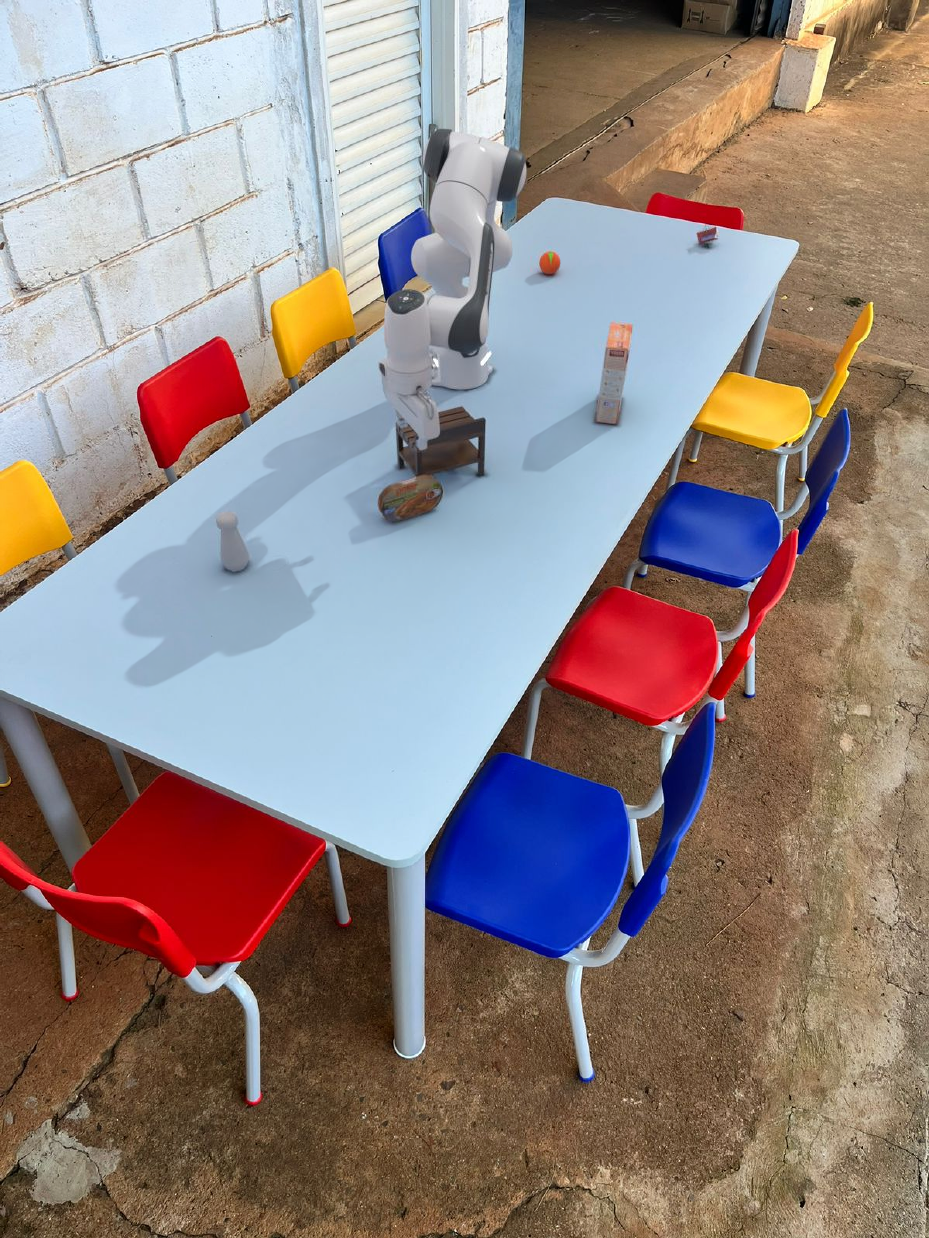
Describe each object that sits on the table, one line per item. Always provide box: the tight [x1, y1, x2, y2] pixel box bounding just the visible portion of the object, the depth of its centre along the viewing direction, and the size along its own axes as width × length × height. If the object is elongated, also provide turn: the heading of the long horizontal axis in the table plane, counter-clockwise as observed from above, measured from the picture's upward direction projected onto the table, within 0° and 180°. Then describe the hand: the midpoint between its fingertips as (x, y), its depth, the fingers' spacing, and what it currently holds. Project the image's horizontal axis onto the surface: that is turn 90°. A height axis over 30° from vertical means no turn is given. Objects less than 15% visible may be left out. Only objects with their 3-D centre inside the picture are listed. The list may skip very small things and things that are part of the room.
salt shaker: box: [215, 510, 250, 573], centre depth 181 cm, size 6×6×13 cm
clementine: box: [538, 251, 561, 275], centre depth 291 cm, size 8×7×7 cm
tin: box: [377, 475, 444, 522], centre depth 197 cm, size 15×3×8 cm, turn 117°
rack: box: [395, 406, 487, 477], centre depth 206 cm, size 12×17×15 cm
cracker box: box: [595, 321, 633, 426], centre depth 225 cm, size 14×6×21 cm, turn 168°
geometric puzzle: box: [696, 223, 720, 248], centre depth 310 cm, size 7×7×8 cm
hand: (412, 437), depth 186 cm, fingers open, 8 cm apart
